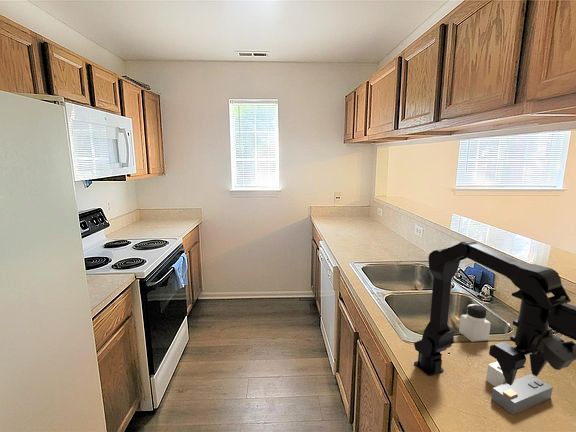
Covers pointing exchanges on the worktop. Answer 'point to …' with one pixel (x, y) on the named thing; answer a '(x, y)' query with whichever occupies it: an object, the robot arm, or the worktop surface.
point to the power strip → (521, 393)
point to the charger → (495, 374)
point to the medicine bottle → (475, 324)
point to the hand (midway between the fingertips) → (522, 379)
